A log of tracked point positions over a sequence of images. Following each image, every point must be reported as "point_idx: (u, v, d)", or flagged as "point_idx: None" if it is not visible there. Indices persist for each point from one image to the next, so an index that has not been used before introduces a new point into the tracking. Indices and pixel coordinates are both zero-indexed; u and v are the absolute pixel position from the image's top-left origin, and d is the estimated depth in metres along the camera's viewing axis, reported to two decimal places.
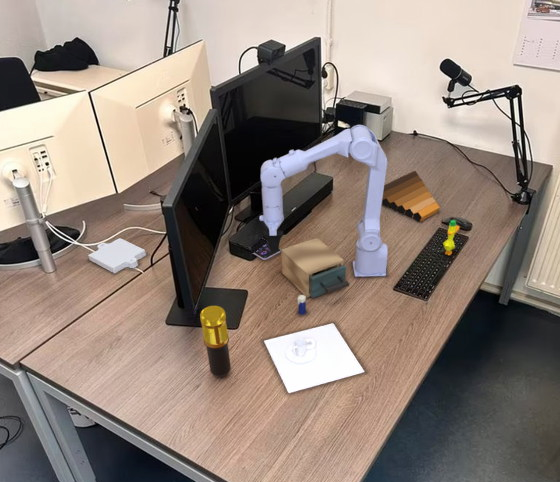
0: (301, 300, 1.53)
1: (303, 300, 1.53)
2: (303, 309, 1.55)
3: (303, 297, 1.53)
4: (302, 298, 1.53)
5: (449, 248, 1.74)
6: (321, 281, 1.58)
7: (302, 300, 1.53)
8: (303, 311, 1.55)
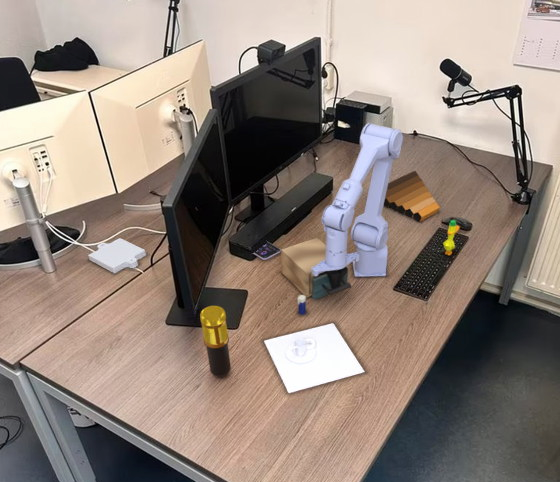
0: (301, 300, 1.53)
1: (303, 300, 1.53)
2: (303, 309, 1.55)
3: (303, 297, 1.53)
4: (302, 298, 1.53)
5: (449, 248, 1.74)
6: (323, 283, 1.57)
7: (302, 300, 1.53)
8: (303, 311, 1.55)
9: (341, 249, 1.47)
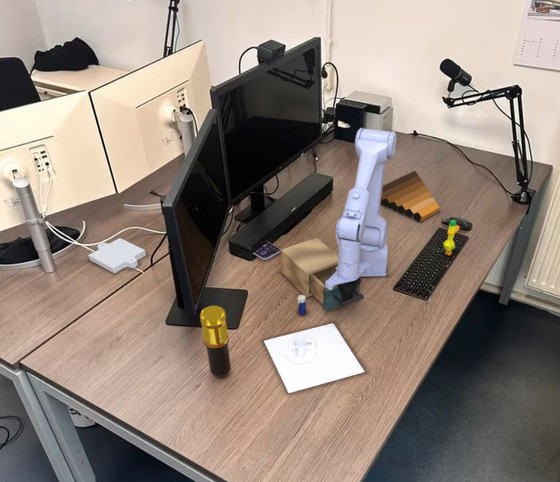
0: (301, 300, 1.53)
1: (303, 300, 1.53)
2: (303, 309, 1.55)
3: (303, 297, 1.53)
4: (302, 298, 1.53)
5: (449, 248, 1.74)
6: (335, 294, 1.53)
7: (302, 300, 1.53)
8: (303, 311, 1.55)
9: (356, 260, 1.43)
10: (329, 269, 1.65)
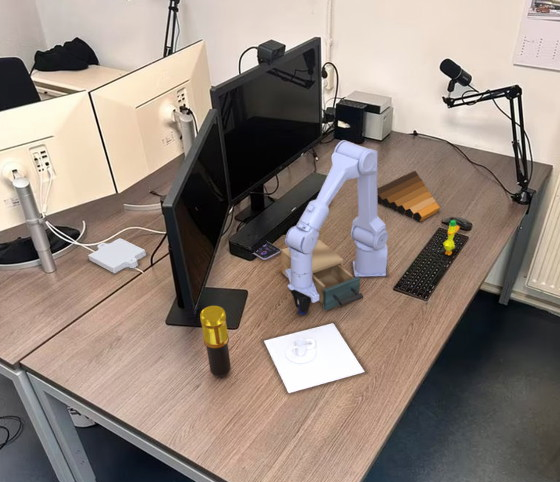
0: None
1: None
2: None
3: None
4: None
5: (449, 248, 1.74)
6: (334, 293, 1.53)
7: None
8: None
9: (304, 271, 1.44)
10: (329, 269, 1.66)
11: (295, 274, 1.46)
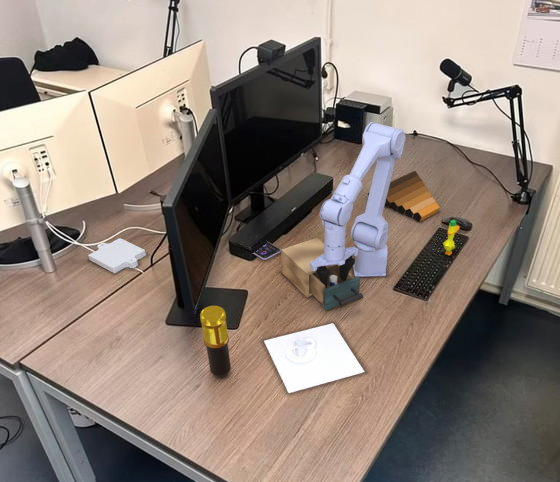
0: None
1: None
2: None
3: (334, 276, 1.57)
4: (336, 276, 1.57)
5: (449, 248, 1.74)
6: (334, 293, 1.53)
7: None
8: None
9: (339, 244, 1.47)
10: (329, 269, 1.66)
11: (343, 245, 1.48)
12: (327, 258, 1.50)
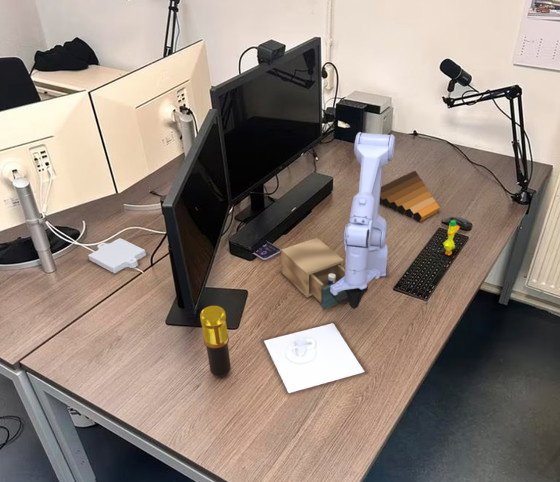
0: (335, 276, 1.57)
1: None
2: None
3: (332, 274, 1.57)
4: (334, 275, 1.57)
5: (449, 248, 1.74)
6: None
7: None
8: None
9: (365, 266, 1.41)
10: None
11: (365, 269, 1.42)
12: (348, 282, 1.44)
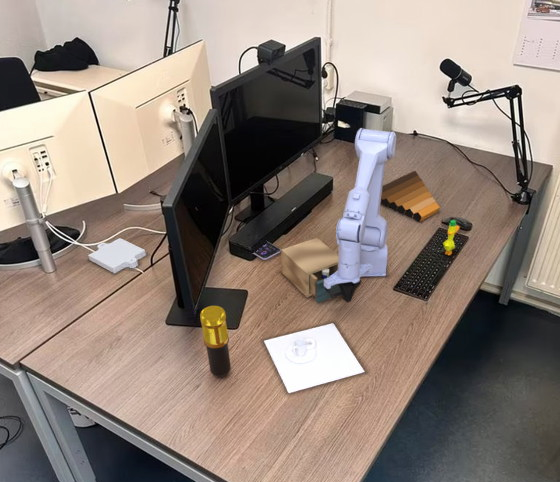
0: None
1: None
2: None
3: (326, 269, 1.60)
4: (328, 269, 1.59)
5: (449, 248, 1.74)
6: None
7: None
8: None
9: (357, 260, 1.43)
10: None
11: (358, 263, 1.44)
12: (341, 276, 1.47)
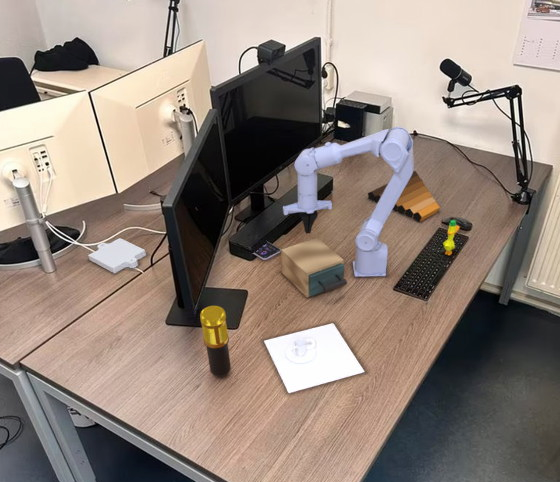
0: None
1: None
2: None
3: None
4: None
5: (449, 248, 1.74)
6: (319, 279, 1.59)
7: None
8: None
9: (300, 191, 1.60)
10: None
11: (313, 195, 1.60)
12: (299, 205, 1.63)
